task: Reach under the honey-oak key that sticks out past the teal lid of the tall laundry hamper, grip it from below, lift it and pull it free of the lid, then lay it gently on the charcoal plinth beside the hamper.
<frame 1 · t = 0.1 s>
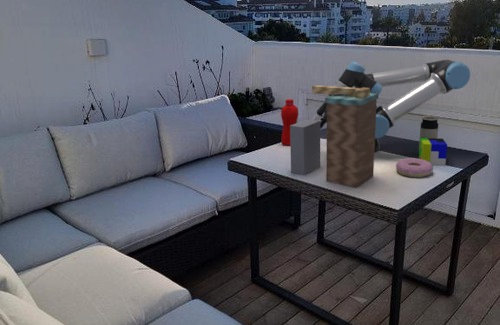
hand: (313, 129, 212), 15 cm above the table, tool tilted 35°, fingers open, 13 cm apart
puzzle toy: (431, 162, 206), on the table
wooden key: (338, 94, 182), point 36 cm above the table, touching laundry hamper
travel mug: (427, 153, 218), on the table
donut: (413, 173, 194), on the table
plinth: (305, 169, 204), on the table
laundry hamper: (350, 178, 190), on the table
water bottle: (290, 143, 246), on the table
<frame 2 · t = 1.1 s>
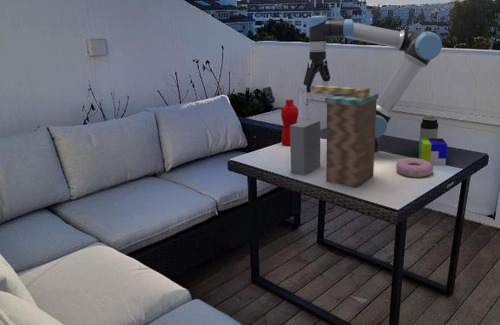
hand: (317, 97, 209), 31 cm above the table, tool pointing down, fingers open, 13 cm apart
nothing on the table moved.
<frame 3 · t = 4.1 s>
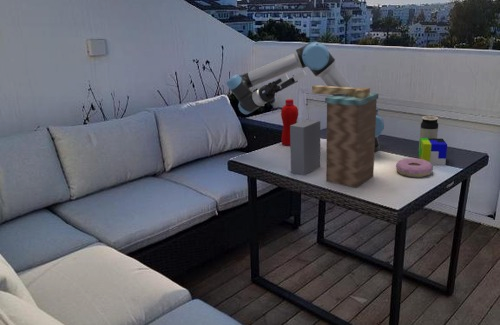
hand: (296, 74, 193), 44 cm above the table, tool pointing upward, fingers open, 13 cm apart
nothing on the table moved.
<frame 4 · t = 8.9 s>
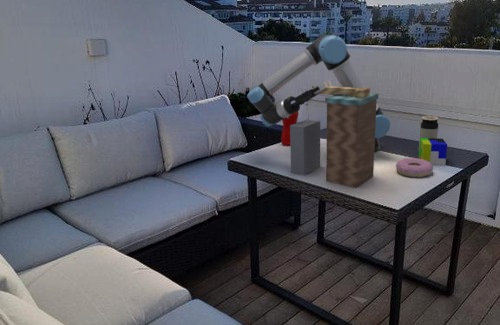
hand: (327, 83, 184), 40 cm above the table, tool pointing upward, fingers closed on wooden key, 3 cm apart
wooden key: (338, 94, 182), point 36 cm above the table, touching gripper, laundry hamper
everything else where it was.
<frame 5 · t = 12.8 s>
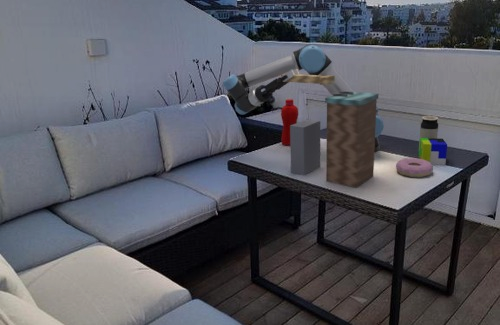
hand: (295, 72, 192), 45 cm above the table, tool pointing upward, fingers closed on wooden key, 3 cm apart
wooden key: (305, 82, 190), point 40 cm above the table, touching gripper
everything else where it was.
when the fingers open (28 cm above the table, at t = 17.1 s): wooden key drops 1 cm, resting on plinth.
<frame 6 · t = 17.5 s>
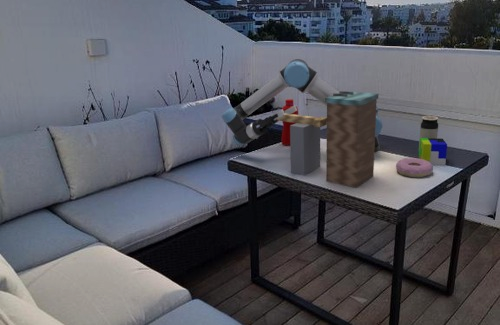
hand: (289, 109, 200), 27 cm above the table, tool pointing upward, fingers open, 9 cm apart
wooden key: (300, 122, 198), point 22 cm above the table, touching plinth
everything else where it was.
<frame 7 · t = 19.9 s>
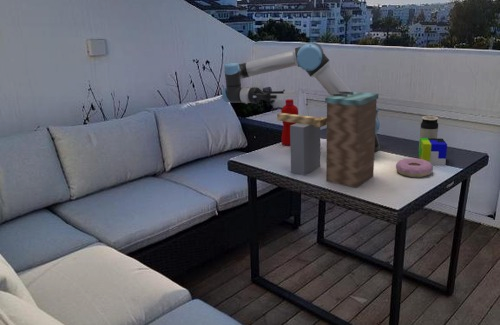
hand: (290, 95, 206), 32 cm above the table, tool horizontal, fingers open, 13 cm apart
nothing on the table moved.
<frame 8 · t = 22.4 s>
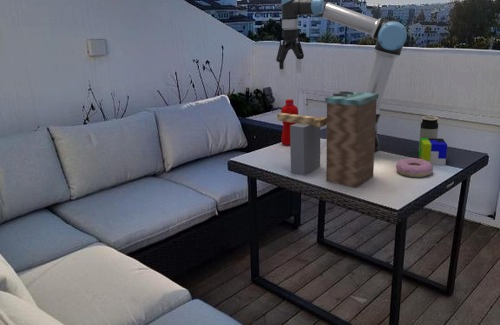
hand: (290, 74, 215), 41 cm above the table, tool pointing down, fingers open, 13 cm apart
nothing on the table moved.
at the end: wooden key inside the target area on the plinth (2.5 cm from its centre), point 22.0 cm above the plinth's base; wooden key touching plinth; the gripper is holding nothing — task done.
